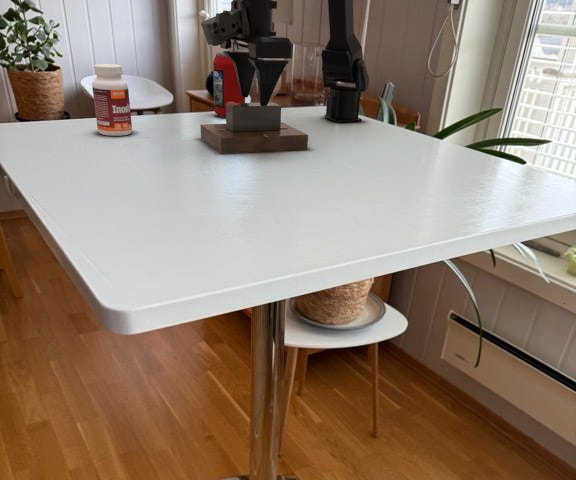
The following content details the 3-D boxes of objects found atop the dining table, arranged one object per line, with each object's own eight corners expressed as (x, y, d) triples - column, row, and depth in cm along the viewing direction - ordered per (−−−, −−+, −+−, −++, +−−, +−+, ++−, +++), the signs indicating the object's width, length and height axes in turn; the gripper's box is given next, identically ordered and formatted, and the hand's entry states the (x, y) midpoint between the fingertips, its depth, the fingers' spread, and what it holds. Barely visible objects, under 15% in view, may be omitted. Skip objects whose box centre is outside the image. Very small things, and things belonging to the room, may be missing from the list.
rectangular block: (273, 126, 103) (273, 100, 101) (280, 130, 100) (281, 104, 98) (226, 127, 100) (225, 101, 97) (232, 132, 97) (232, 104, 95)
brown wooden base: (279, 135, 109) (280, 120, 108) (308, 150, 99) (309, 134, 98) (200, 138, 104) (199, 122, 102) (222, 154, 94) (221, 137, 92)
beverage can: (215, 112, 127) (213, 51, 120) (245, 114, 127) (245, 52, 120) (213, 118, 121) (211, 53, 114) (244, 119, 122) (244, 55, 115)
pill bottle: (118, 138, 101) (110, 68, 95) (90, 133, 103) (81, 64, 96) (139, 132, 106) (133, 65, 99) (112, 128, 107) (104, 62, 101)
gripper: (189, -12, 93) (193, 94, 102) (224, -10, 79) (226, 112, 88) (252, -8, 97) (251, 93, 106) (296, -6, 83) (291, 110, 92)
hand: (253, 101), depth 98 cm, fingers open, 9 cm apart
